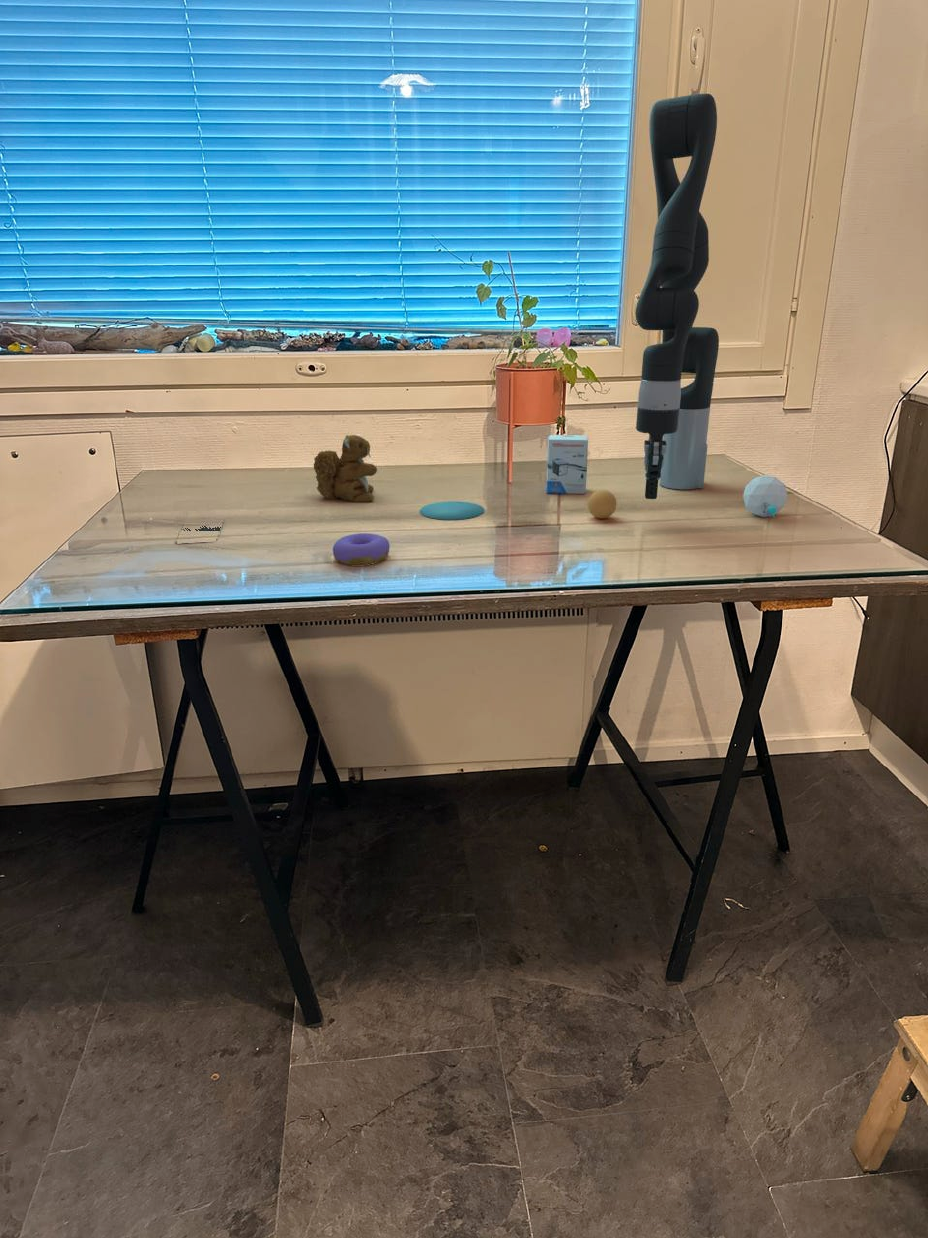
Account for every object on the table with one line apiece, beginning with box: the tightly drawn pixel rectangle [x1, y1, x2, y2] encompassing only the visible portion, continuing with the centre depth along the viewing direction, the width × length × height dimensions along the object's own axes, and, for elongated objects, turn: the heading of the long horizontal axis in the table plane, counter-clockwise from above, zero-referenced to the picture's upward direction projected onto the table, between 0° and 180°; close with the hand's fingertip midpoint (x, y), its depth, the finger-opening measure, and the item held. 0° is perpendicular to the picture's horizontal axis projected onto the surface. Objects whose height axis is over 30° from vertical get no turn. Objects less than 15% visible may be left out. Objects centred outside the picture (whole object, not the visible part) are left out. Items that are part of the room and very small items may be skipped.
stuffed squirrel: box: [313, 434, 378, 503], centre depth 174 cm, size 10×14×13 cm
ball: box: [587, 489, 617, 520], centre depth 158 cm, size 6×6×6 cm
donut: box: [332, 532, 391, 566], centre depth 138 cm, size 10×9×5 cm
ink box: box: [545, 434, 589, 495], centre depth 176 cm, size 9×5×12 cm, turn 84°
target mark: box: [419, 500, 485, 521], centre depth 165 cm, size 13×13×1 cm
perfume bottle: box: [743, 474, 788, 519], centre depth 156 cm, size 8×8×12 cm
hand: (650, 497), depth 155 cm, fingers closed
